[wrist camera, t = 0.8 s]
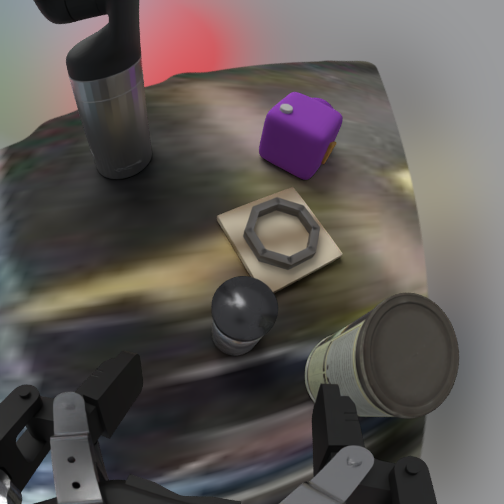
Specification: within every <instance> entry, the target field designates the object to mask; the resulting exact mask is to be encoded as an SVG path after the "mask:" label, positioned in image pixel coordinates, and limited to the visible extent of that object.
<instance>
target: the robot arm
mask: <svg viewBox="0 0 504 504" xmlns="http://www.w3.org/2000/svg"><path fill="white" fill-rule="evenodd" d="M34 2H35V3H36V5H37V7H38V8H39V10H40V11H41V13H42V14H43V15H44V16H45V17H46V18H47V19H48V20H49V21H51V22H52V23H55V24H66V23H72V22H76V21H79V20H83V19H87V18H92V17H96V16H101V15H106V14H108V16H109V23H108V24H107V25H106V26H105V27H103V28H102V29H101V30H99V31H98V32H96V33H94V34H93V35H91V36H89V37H87V38H86V39H84V40H82V41H81V42H79V43H78V44H77V45H75V46H74V47H73V48H72V49H71V50H70V51H69V53H68V55H67V57H66V65H67V70H68V74H69V78H70V82H71V86H72V90H73V93H74V97H75V100H76V104H77V108H78V111H79V114H80V118H81V121H82V124H83V128H84V131H85V134H86V137H87V140H88V143H89V146H90V149H91V153H92V155H93V158H94V161H95V164H96V167H97V170H98V171H99V173H100V174H101V175H103V176H104V177H107V178H110V179H123V178H127V177H131V176H133V175H135V174H137V173H139V172H140V171H142V170H143V169H144V168H145V167H146V166H147V165H148V163H149V162H150V160H151V157H152V148H151V140H150V132H149V124H148V116H147V108H146V99H145V90H144V80H143V70H142V58H141V47H140V31H139V30H140V29H139V0H34ZM142 387H143V377H142V369H141V361H140V356H139V355H138V354H135V353H131V352H127V351H122V352H121V353H120V354H119V355H118V356H117V357H116V358H115V359H113V358H111V359H109V360H107V361H105V362H103V363H102V364H101V365H100V366H99V367H98V368H97V370H95V371H94V372H93V373H92V375H90V376H89V377H88V378H87V380H86V381H85V382H84V383H83V384H82V385H81V386H80V387H79V388H78V389H77V390H76V391H75V392H64V393H61V394H59V395H58V396H57V397H56V398H55V399H54V398H48V397H42V396H40V394H39V391H38V389H37V388H36V387H34V386H32V385H21V386H19V387H17V388H16V389H14V390H13V391H12V392H11V393H10V394H9V395H8V396H7V397H6V398H5V399H4V400H3V401H2V402H1V403H0V504H21V503H22V495H21V492H22V490H23V489H24V487H25V486H26V484H27V483H28V481H29V480H30V478H31V477H32V475H33V474H34V472H35V471H36V469H37V468H38V467H39V465H40V464H41V462H42V461H43V459H44V458H45V456H46V455H47V454H48V452H49V451H50V449H51V457H52V467H53V475H54V483H55V490H56V496H57V497H56V498H52V499H49V500H45V501H42V502H38V503H34V504H241V501H234V500H228V499H222V498H217V497H197V496H181V495H178V494H176V493H174V492H172V491H170V490H168V489H166V488H164V487H163V486H161V485H159V484H157V483H155V482H152V481H149V480H146V479H143V478H140V477H137V476H134V475H131V474H130V475H129V477H128V479H127V480H109V479H108V476H107V473H106V470H105V466H104V462H103V458H102V454H101V450H100V446H99V442H98V438H99V437H100V436H101V435H102V436H104V437H107V438H109V439H110V437H111V436H112V434H113V433H114V431H115V430H116V428H117V427H118V425H119V424H120V422H121V421H122V419H123V418H124V416H125V415H126V413H127V412H128V410H129V409H130V407H131V406H132V404H133V403H134V402H135V400H136V399H137V397H138V396H139V394H140V392H141V390H142ZM25 426H26V428H27V430H26V431H25V432H24V433H23V435H22V436H21V437H20V438H19V440H18V441H17V442H16V437H17V435H18V434H19V433H20V432H21V430H22V429H23V428H24V427H25ZM312 437H313V467H314V478H313V479H312V480H311V481H310V482H304V483H303V484H301V485H300V486H299V487H298V488H297V489H296V490H294V491H293V492H292V493H291V494H290V495H289V496H288V497H286V498H285V499H284V500H283V501H282V502H281V503H279V504H437V501H436V497H435V493H434V489H433V485H432V481H431V478H430V473H429V470H428V467H427V465H426V463H425V462H424V461H423V460H421V459H419V458H417V457H412V456H408V457H403V458H401V459H400V460H398V461H397V463H396V464H395V463H390V462H384V461H380V460H377V459H375V458H374V457H373V455H372V453H371V452H370V451H369V450H367V449H366V448H365V446H364V442H363V437H362V432H361V428H360V423H359V419H358V414H357V410H356V405H355V403H354V402H353V401H352V399H351V398H350V397H349V396H341V395H340V389H339V385H338V384H324V383H321V384H320V387H319V391H318V394H317V398H316V401H315V405H314V409H313V414H312Z"/></svg>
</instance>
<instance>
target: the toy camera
mask: <svg viewBox="0 0 504 504" xmlns="http://www.w3.org/2000/svg"><path fill="white" fill-rule="evenodd" d="M341 124H342V115H341V114H340V113H339V112H338V111H336V110H334V109H333V107H332V106H331V105H330V104H329V103H328V102H327V101H325V100H323V99H320V98H310V97H308V96H306V95H303V94H301V93H298V92H292V93H290V94H289V95H288V96H286V97H285V98H284V99H282V100H281V101H280V102H279V103H278V104H277V105H275V106H274V107H273V108H272V109H271V110H270V111H269V112H268V114H267V116H266V119H265V123H264V127H263V132H262V137H261V141H260V146H259V154H260V156H261V157H263V158H264V159H266V160H267V161H269V162H271V163H273V164H275V165H276V166H278V167H280V168H282V169H284V170H286V171H287V172H289V173H291V174H293V175H295V176H297V177H299V178H301V179H304V180H308V179H310V178H311V177H312V176H313V175H314V174H315V172H316V171H317V169H318V168H319V167H320V165H321V164H325V162H326V160H327V159H328V157H329V155H330V153H331V152H332V150H333V148H334V147H335V145H336V142H334V141H335V138H336V136H337V134H338V132H339V129H340V127H341Z"/></svg>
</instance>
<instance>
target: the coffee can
mask: <svg viewBox="0 0 504 504" xmlns="http://www.w3.org/2000/svg"><path fill="white" fill-rule="evenodd" d="M458 365H459V349H458V342H457V338H456V335H455V332H454V329H453V326H452V324H451V322H450V321H449V319H448V317H447V316H446V314H445V313H444V312H443V311H442V309H441V308H440V307H439V306H438V305H436V304H435V303H434V302H432V301H431V300H430V299H428V298H426V297H424V296H422V295H419V294H415V293H400V294H396V295H393V296H391V297H389V298H387V299H385V300H384V301H382V302H381V303H380V304H378V305H377V306H376V307H375V308H374V309H373V310H371V311H370V312H368V313H367V314H365V315H364V316H362V317H360V318H359V319H357V320H356V321H354V322H353V323H351V324H349V325H348V326H346V327H345V328H343V329H341V330H340V331H338V332H336V333H334V334H333V335H331V336H329V337H327V338H325V339H323V340H322V341H321V342H320V343H318V344H317V345H316V347H315V348H314V349H313V350H312V352H311V354H310V355H309V358H308V360H307V363H306V368H305V384H306V387H307V391H308V393H309V395H310V397H311V399H312V400H313V401H314V403H315V401H316V398H317V394H318V391H319V387H320V384H321V383H324V384H338V385H339V389H340V395H341V396H349V397H350V398H351V399H352V401H353V402H354V403H355V405H356V410H357V414H358V416H363V417H399V418H417V417H421V416H424V415H426V414H428V413H430V412H432V411H433V410H435V409H436V408H437V407H439V406H440V405H441V404H442V402H443V401H444V400H445V399H446V398H447V396H448V395H449V393H450V391H451V389H452V387H453V385H454V382H455V379H456V376H457V371H458Z"/></svg>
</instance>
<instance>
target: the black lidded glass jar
mask: <svg viewBox="0 0 504 504" xmlns="http://www.w3.org/2000/svg"><path fill="white" fill-rule="evenodd" d="M211 311H212V339H213V342H214V344H215V345H216V347H217V348H218V349H219V350H220V351H222V352H223V353H225V354H228V355H233V356H238V355H243V354H245V353H247V352H249V351H250V350H251V349H252V348H253V347H254V346H255V345H256V344H257V342H258V341H259V340H260V339H261V338H262V337H263V336H264V335H265V334H266V333H267V332H268V331H269V330H270V329H271V328H272V326H273V325H274V323H275V321H276V318H277V315H278V303H277V300H276V297H275V295H274V293H273V291H272V290H271V289H270V288H269V287H268V286H267V285H266V284H265V283H264V282H262V281H260V280H258V279H256V278H253V277H248V276H239V277H234V278H231V279H229V280H227V281H225V282H224V283H223V284H222V285H221V286H219V288H218V289H217V290H216V292H215V294H214V296H213V300H212V308H211Z"/></svg>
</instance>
